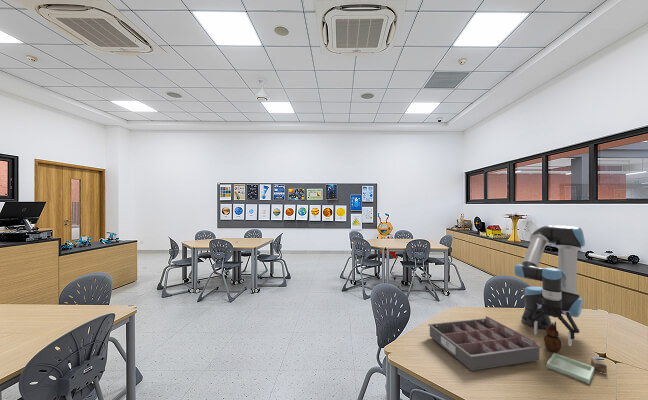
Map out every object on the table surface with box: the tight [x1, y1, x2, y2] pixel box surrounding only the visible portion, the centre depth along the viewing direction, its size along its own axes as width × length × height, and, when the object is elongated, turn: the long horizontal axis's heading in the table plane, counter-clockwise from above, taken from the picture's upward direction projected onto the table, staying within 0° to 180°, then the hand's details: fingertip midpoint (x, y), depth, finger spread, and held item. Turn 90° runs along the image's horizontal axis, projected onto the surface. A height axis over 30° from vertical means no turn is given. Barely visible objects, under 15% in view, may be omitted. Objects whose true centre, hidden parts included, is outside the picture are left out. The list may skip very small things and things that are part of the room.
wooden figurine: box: [543, 321, 562, 353], centre depth 133 cm, size 7×6×15 cm
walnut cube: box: [590, 358, 608, 375], centre depth 117 cm, size 4×4×4 cm
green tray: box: [545, 352, 595, 385], centre depth 117 cm, size 14×14×2 cm
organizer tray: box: [427, 315, 542, 371], centre depth 134 cm, size 32×40×10 cm
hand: (552, 339), depth 133 cm, fingers open, 13 cm apart
